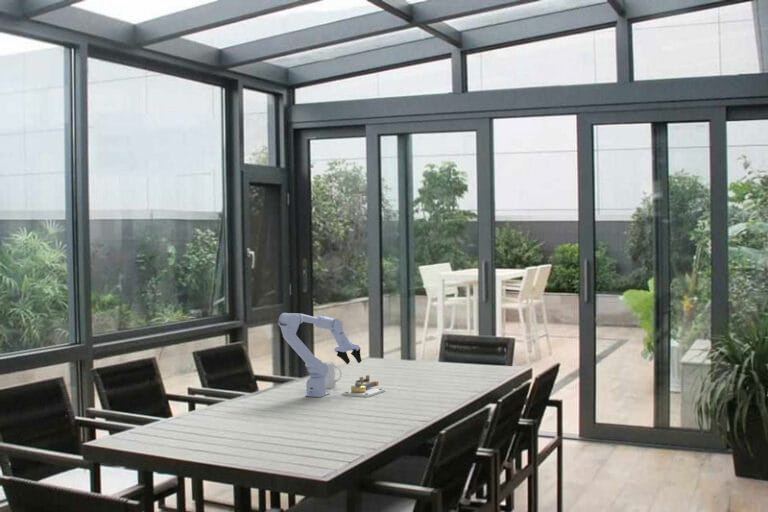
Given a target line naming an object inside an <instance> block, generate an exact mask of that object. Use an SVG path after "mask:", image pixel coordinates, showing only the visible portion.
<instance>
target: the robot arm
mask: <svg viewBox="0 0 768 512" xmlns="http://www.w3.org/2000/svg"><path fill="white" fill-rule="evenodd" d="M303 322H304V323H308V324H314V326H315V327H316V328H319V329H325V330H327V331H330V333H331V334H332V336H333V338H334V340H335V342H336V343H337V346H335V348H334V349H333V350H334V352H335V353H336V356H337V357H338V358H340V359H341V360H342V361H344V363H346V365H349V364H350V362H351V360H350V358H349V356H348V353H347V352H348V351H349V352H350V351H352V352H351V353H350V355H352V356H353V358H354V359H355V361H356V362H357V364H360V363H361V362H362V358H361V356H362V355H361V347H360V345H359V344H355V343H352V341H350V339H349V337H348V335H347V333H346V331H345V330H344V328H343V322H342V321H341V320H340V319H339V318H333V317H332V316H326V315H325V314H320V315H319V314H318V315H317V316H312V315H308V314H304V313H296V312H295V313H294V312H293V313H291V312H289V313H288V312H282V313H281V314H280V315H279V317H278V323H277V324H278V326H279V327H280V331H281V334H282V338H283V339H284V340H285V341H286V343H288V345H289V346H290V347H291V348H292V350H293V351H295V353H296V354H297V355H298V356H299V357H300V358H301V359H302V361H303V362H304V363H305V364H304V366H305V367H306V369H307V372H308V373H309V376H310V377H309V379H307V380H306V384H305V385H306V394H304V396H305V397H313V398H320V397H323V396H327V395H330V392H327V388H326V374H327V373H328V366H327V364H325V363H323V362H324V361H322V360H321V359H319V358H318V357H316V356H315V355H314V353H312V352H311V350H309V348H308V346H306V345H305V344H304V342H303V341H302V340H301V338H299V337H298V335H297V331H298V330H299V327H300V324H303Z"/></svg>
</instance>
